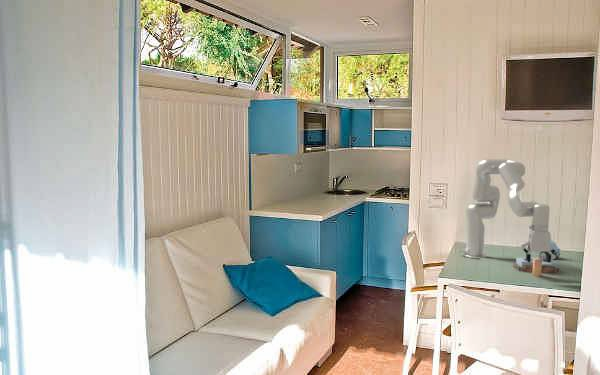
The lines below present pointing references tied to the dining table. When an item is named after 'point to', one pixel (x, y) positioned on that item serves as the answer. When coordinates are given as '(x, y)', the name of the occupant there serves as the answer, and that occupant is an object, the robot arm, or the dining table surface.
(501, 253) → the dining table surface
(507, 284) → the dining table surface
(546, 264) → the pale blue peg socket
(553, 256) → the toy excavator
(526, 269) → the cradle
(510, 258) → the dining table surface
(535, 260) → the tail peg
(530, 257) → the robot arm
